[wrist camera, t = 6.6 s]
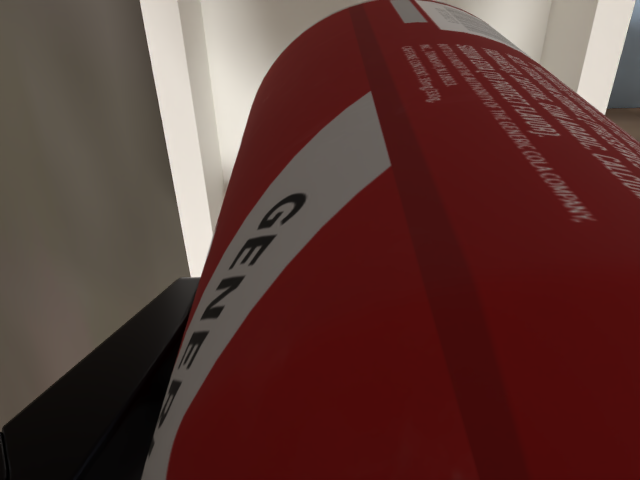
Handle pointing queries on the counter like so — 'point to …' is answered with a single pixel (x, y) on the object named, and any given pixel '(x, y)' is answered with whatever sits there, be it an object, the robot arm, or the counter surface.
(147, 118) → the counter surface
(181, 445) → the soda can
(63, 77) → the counter surface
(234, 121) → the rimmed tray
